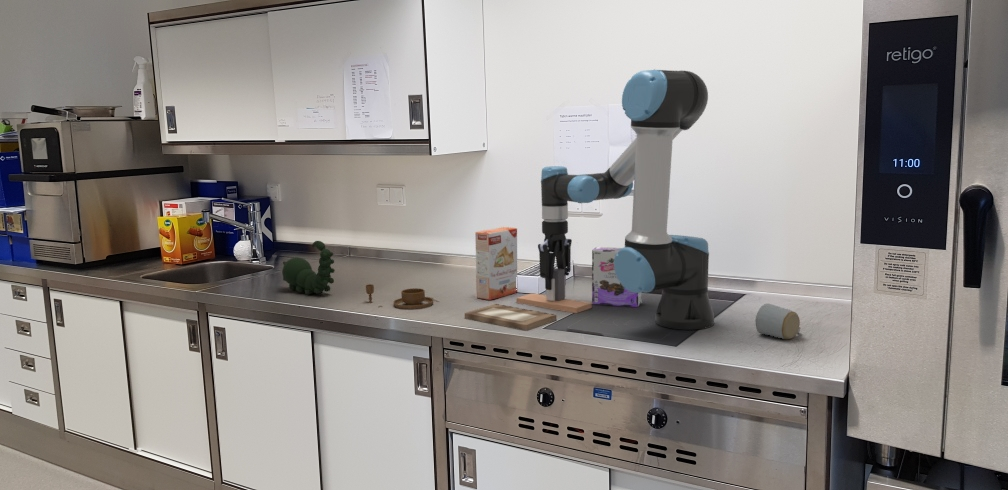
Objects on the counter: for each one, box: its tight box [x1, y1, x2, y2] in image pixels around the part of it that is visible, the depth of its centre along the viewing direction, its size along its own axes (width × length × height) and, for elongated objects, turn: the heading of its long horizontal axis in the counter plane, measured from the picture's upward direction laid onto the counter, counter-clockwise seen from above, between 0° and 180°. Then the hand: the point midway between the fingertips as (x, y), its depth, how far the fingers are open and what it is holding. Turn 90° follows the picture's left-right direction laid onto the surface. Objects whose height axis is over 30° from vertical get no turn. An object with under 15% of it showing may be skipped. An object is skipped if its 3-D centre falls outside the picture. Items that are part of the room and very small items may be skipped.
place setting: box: [365, 284, 440, 310], centre depth 231 cm, size 18×20×6 cm
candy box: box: [591, 246, 643, 308], centre depth 222 cm, size 14×6×16 cm, turn 68°
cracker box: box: [475, 226, 518, 301], centre depth 236 cm, size 14×6×21 cm, turn 141°
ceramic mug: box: [754, 303, 801, 340], centre depth 186 cm, size 11×8×8 cm
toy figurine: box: [281, 240, 336, 296], centre depth 248 cm, size 9×19×25 cm
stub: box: [515, 267, 593, 314], centre depth 222 cm, size 22×7×10 cm, turn 49°
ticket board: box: [464, 303, 557, 331], centre depth 209 cm, size 22×13×2 cm, turn 49°
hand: (555, 298), depth 224 cm, fingers closed on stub, 4 cm apart
